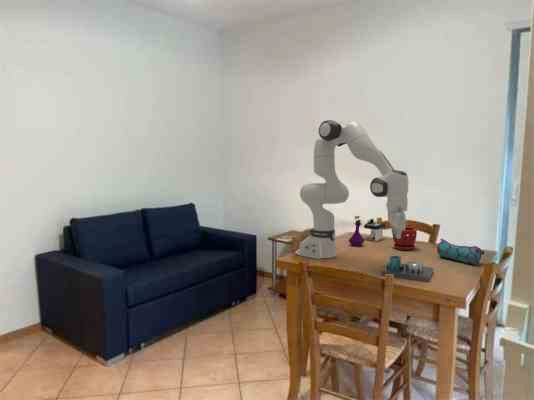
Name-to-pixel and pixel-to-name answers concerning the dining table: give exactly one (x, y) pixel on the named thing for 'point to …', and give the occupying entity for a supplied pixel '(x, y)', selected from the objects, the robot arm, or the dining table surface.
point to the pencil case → (459, 252)
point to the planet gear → (395, 263)
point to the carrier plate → (411, 271)
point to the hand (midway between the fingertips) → (395, 235)
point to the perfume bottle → (356, 235)
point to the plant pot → (406, 239)
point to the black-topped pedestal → (375, 229)
